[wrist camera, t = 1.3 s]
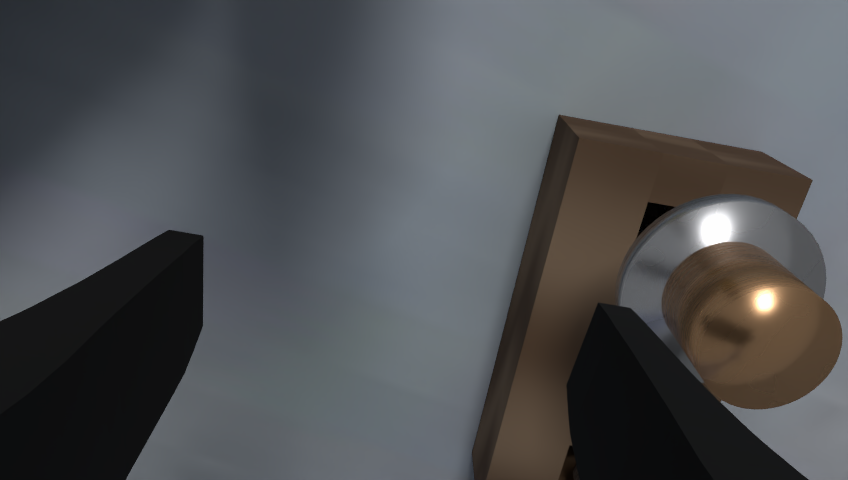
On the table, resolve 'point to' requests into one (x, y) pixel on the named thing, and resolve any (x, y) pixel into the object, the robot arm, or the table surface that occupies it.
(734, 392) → the copper plunger
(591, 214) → the stand
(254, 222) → the table surface
